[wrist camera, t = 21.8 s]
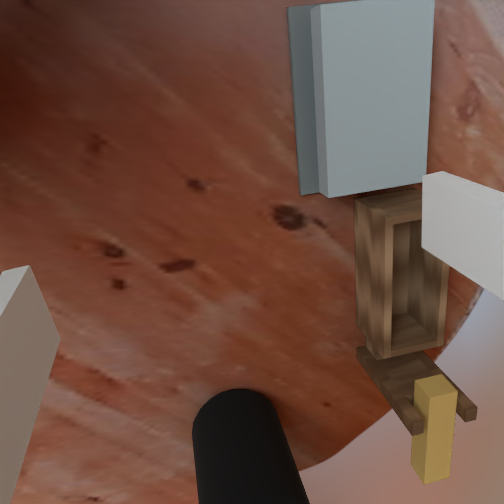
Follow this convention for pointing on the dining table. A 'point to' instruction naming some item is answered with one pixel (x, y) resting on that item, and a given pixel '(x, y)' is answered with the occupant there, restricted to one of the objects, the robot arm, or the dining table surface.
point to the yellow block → (434, 428)
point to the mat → (304, 96)
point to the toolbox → (399, 301)
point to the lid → (371, 93)
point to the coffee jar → (243, 452)
